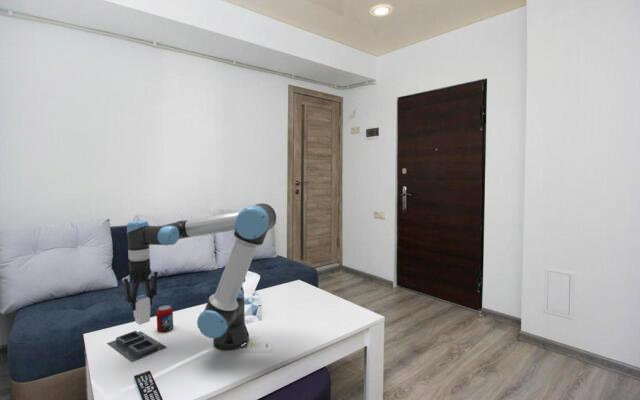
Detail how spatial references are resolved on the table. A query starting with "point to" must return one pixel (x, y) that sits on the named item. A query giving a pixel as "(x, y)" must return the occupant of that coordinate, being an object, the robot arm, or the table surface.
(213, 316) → the robot arm
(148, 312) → the plug
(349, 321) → the table surface
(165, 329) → the beverage can
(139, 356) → the grey socket board
